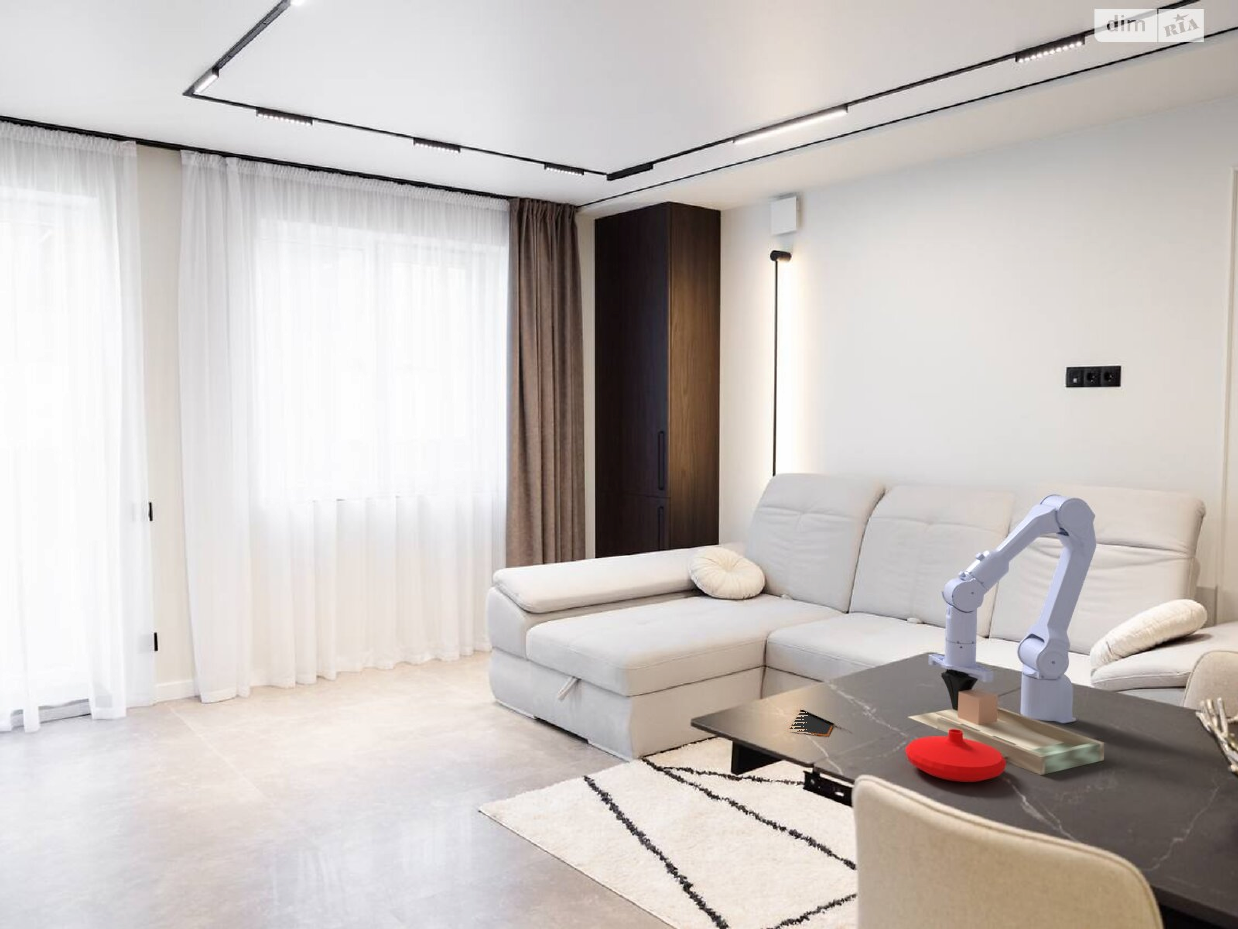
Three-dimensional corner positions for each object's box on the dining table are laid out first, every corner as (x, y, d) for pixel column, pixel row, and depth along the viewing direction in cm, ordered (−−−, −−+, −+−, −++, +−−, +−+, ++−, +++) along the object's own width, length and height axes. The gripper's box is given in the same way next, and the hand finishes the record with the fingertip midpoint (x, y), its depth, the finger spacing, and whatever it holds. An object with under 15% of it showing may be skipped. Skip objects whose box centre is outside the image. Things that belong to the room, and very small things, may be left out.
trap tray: (967, 711, 189) (967, 696, 189) (1103, 760, 162) (1104, 743, 162) (907, 722, 181) (907, 706, 181) (1040, 775, 155) (1040, 757, 155)
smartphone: (787, 734, 175) (787, 729, 175) (803, 709, 190) (803, 704, 190) (828, 739, 172) (828, 734, 172) (841, 713, 188) (841, 709, 188)
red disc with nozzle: (996, 800, 145) (997, 754, 144) (893, 778, 153) (894, 735, 153) (1013, 768, 158) (1015, 727, 158) (918, 750, 166) (919, 710, 166)
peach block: (976, 713, 184) (977, 688, 184) (997, 721, 179) (998, 695, 179) (957, 717, 182) (958, 691, 181) (978, 725, 177) (979, 698, 177)
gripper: (918, 634, 188) (916, 701, 189) (975, 651, 175) (973, 723, 176) (943, 631, 191) (941, 697, 192) (1002, 647, 178) (999, 718, 179)
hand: (958, 709), depth 184 cm, fingers closed
